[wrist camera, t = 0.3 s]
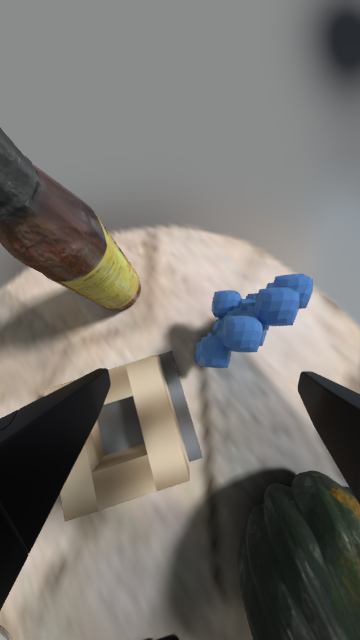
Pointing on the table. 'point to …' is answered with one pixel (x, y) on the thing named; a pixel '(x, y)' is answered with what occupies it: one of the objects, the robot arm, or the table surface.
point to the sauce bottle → (60, 234)
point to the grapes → (251, 318)
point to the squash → (303, 562)
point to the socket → (133, 439)
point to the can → (4, 635)
